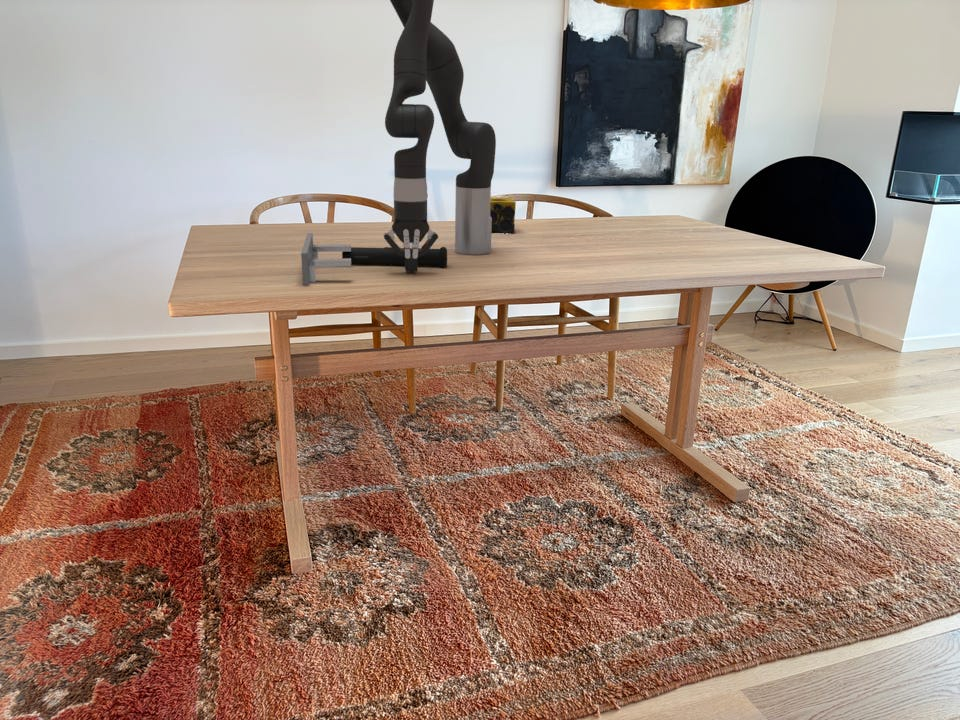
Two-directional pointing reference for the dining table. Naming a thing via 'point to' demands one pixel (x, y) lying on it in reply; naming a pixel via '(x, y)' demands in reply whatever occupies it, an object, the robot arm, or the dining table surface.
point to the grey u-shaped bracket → (327, 262)
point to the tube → (394, 257)
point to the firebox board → (306, 258)
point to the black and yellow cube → (502, 215)
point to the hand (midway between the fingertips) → (411, 273)
